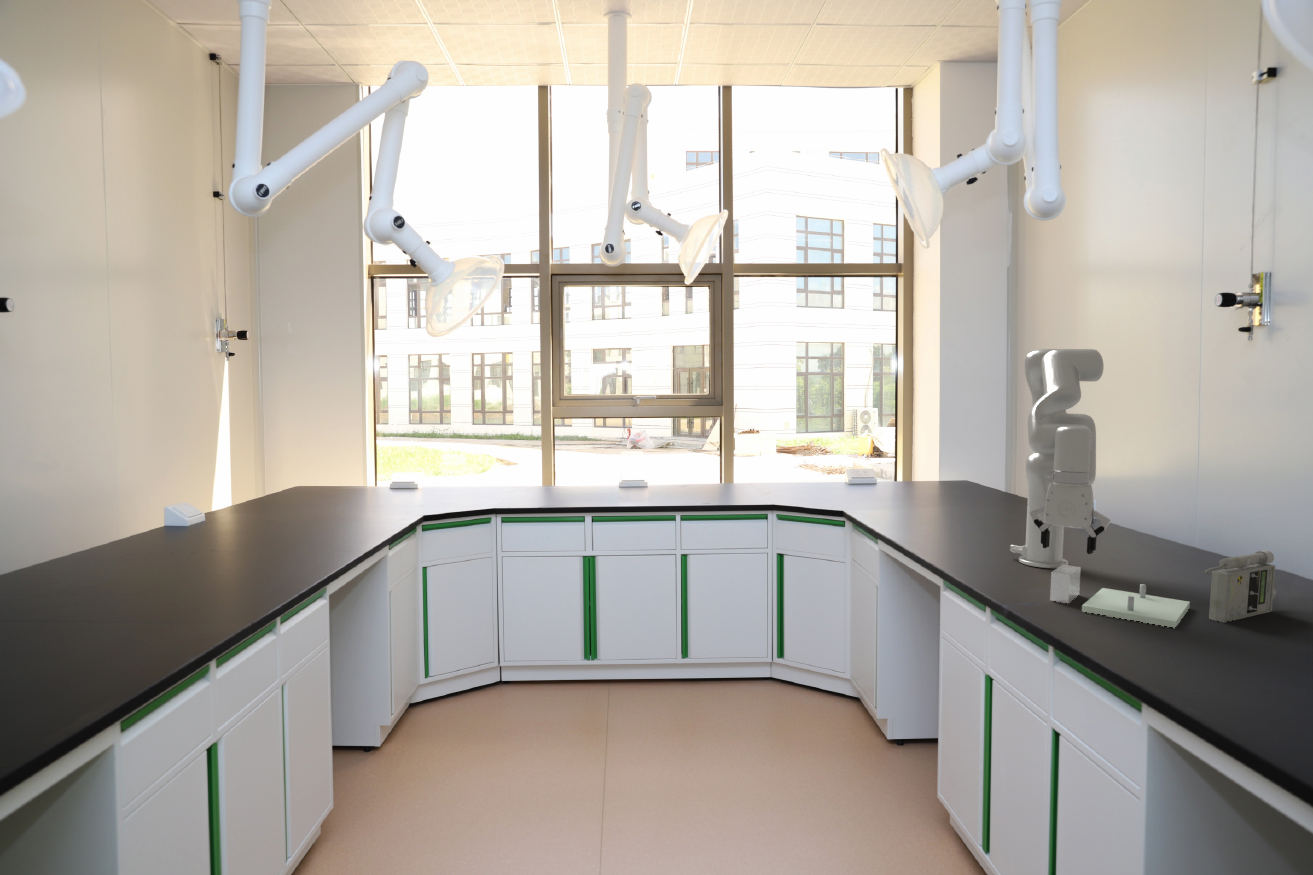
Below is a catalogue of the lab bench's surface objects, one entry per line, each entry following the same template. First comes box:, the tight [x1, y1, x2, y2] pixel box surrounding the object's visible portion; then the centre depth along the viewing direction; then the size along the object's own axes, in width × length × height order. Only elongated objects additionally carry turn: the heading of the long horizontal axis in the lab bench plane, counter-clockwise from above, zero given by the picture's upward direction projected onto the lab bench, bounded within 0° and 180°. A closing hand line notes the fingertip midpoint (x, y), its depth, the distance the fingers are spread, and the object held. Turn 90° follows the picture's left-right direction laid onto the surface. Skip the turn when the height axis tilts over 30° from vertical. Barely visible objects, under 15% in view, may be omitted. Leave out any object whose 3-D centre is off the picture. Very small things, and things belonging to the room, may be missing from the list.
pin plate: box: [1081, 583, 1191, 629], centre depth 188 cm, size 18×20×4 cm
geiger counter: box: [1204, 549, 1278, 624], centre depth 186 cm, size 14×6×25 cm
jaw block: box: [1049, 564, 1082, 605], centre depth 197 cm, size 4×10×7 cm, turn 140°
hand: (1067, 550), depth 196 cm, fingers open, 9 cm apart
